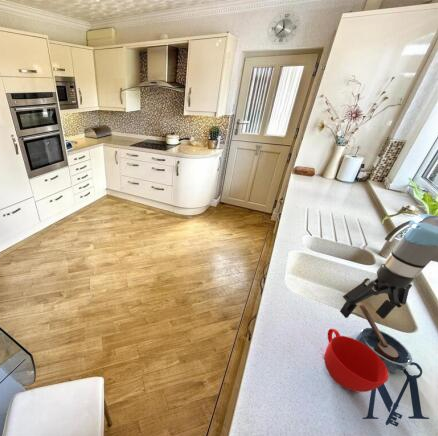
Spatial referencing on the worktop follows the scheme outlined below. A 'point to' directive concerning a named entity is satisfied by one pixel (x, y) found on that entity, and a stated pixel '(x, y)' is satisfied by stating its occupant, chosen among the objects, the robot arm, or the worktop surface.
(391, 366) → the bowl
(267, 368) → the worktop surface
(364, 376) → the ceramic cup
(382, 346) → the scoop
